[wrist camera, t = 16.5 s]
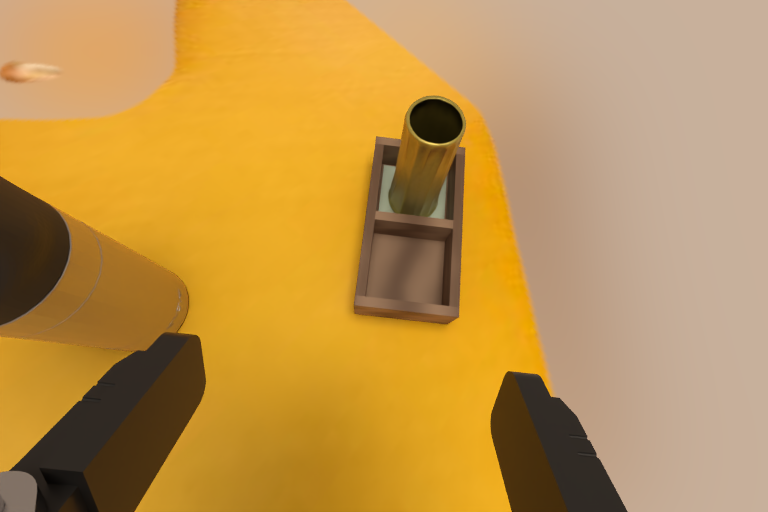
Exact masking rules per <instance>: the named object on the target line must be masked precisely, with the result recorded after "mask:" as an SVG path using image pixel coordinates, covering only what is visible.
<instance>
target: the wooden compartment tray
mask: <svg viewBox="0 0 768 512" xmlns="http://www.w3.org/2000/svg"><path fill="white" fill-rule="evenodd" d="M400 144H401V140H400V139H393V138H385V137H377V136H376V144H375V151H374V159H373V166H372V174H371V181H370V189H369V196H368V204H367V211H366V219H365V226H364V234H363V242H362V249H361V257H360V264H359V272H358V279H357V287H356V294H355V302H354V310H355V314H361V315H370V316H379V317H387V318H396V319H405V320H413V321H422V322H431V323H439V324H448V323H450V322H452V321H453V320H455V319H457V318H458V317H459V299H460V273H461V246H462V220H463V193H464V167H465V148H463V147H458V149H457V152H456V154H455V157H454V159H453V161H452V164H451V166H450V169H449V171H448V174H447V176H446V179H445V181H444V184H443V186H442V188H441V191H440V194H439V198H438V205H437V207H436V209H435V211H434V212H433V213H432V214H431V215H430V216H429V217H423V216H415V215H406V214H398V213H395V212H394V211H393V209H392V208H391V206H390V203H389V198H388V194H389V189H390V188H391V184H392V180H393V177H394V174H395V170H396V163H397V158H398V154H399V149H400Z"/></svg>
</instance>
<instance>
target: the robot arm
mask: <svg viewBox="0 0 768 512" xmlns="http://www.w3.org/2000/svg"><path fill="white" fill-rule="evenodd" d="M188 304H189V303H188V293H187V290H186V287H185V285H184V284H183V282H182V280H181V279H180V278H179V277H178V276H177V275H175V274H174V273H172V272H170V271H169V270H167V269H165V268H163V267H161V266H160V265H158V264H156V263H155V262H153V261H151V260H149V259H147V258H146V257H144V256H142V255H140V254H138V253H137V252H135V251H133V250H131V249H129V248H128V247H126V246H124V245H122V244H120V243H119V242H117V241H115V240H113V239H111V238H110V237H108V236H106V235H104V234H102V233H101V232H99V231H97V230H95V229H93V228H91V227H90V226H88V225H86V224H84V223H82V222H80V221H78V220H77V219H75V218H73V217H71V216H69V215H68V214H66V213H64V212H62V211H60V210H59V209H57V208H55V207H53V206H51V205H49V204H48V203H46V202H44V201H42V200H41V199H39V198H37V197H35V196H33V195H31V194H30V193H28V192H26V191H24V190H22V189H21V188H19V187H17V186H16V185H14V184H12V183H11V182H9V181H7V180H6V179H4V178H2V177H1V176H0V337H10V338H19V339H28V340H36V341H45V342H54V343H63V344H72V345H81V346H90V347H99V348H106V349H116V350H126V351H136V352H134V353H133V354H131V355H129V356H128V357H126V358H124V359H123V360H121V361H119V362H118V363H116V364H115V365H114V366H113V367H112V368H111V369H110V370H109V371H108V372H107V373H106V374H105V375H104V376H103V377H102V378H101V379H100V380H99V381H98V384H97V385H96V386H93V387H92V388H91V389H90V390H89V391H88V392H87V393H86V394H85V395H84V396H83V399H82V401H78V402H77V403H76V404H75V405H74V406H73V407H72V408H71V409H70V410H69V411H68V412H67V414H66V415H65V416H64V417H63V418H62V419H61V420H60V421H59V422H58V423H57V424H56V425H55V426H54V427H53V428H52V429H51V430H50V431H49V432H48V433H47V434H46V435H45V436H44V437H43V438H42V439H41V440H40V441H39V442H38V443H37V444H36V445H35V446H34V447H33V448H32V449H31V450H30V451H29V452H28V453H27V454H26V455H25V456H24V457H23V458H22V459H21V460H20V461H19V462H18V463H17V464H16V465H15V466H14V467H13V468H12V469H11V470H9V471H6V472H1V473H0V512H134V511H135V510H136V508H137V506H138V505H139V503H140V501H141V500H142V498H143V496H144V495H145V493H146V491H147V490H148V488H149V486H150V485H151V483H152V481H153V480H154V478H155V476H156V475H157V473H158V472H159V470H160V468H161V467H162V465H163V463H164V462H165V460H166V458H167V457H168V455H169V453H170V452H171V450H172V448H173V447H174V445H175V443H176V442H177V440H178V438H179V437H180V435H181V433H182V432H183V430H184V429H185V427H186V425H187V424H188V422H189V420H190V419H191V417H192V415H193V414H194V412H195V410H196V409H197V407H198V405H199V404H200V402H201V399H202V397H203V394H204V390H205V384H206V378H205V370H204V363H203V356H202V348H201V342H200V338H199V337H198V336H197V335H191V334H182V333H176V332H177V331H178V329H179V328H180V326H181V325H182V323H183V322H184V319H185V317H186V314H187V310H188ZM145 350H146V351H145ZM491 434H492V439H493V443H494V446H495V450H496V454H497V458H498V461H499V465H500V469H501V473H502V477H503V480H504V484H505V488H506V492H507V495H508V499H509V503H510V507H511V510H512V512H627V510H626V508H625V506H624V504H623V502H622V500H621V499H620V497H619V495H618V493H617V491H616V489H615V487H614V485H613V484H612V482H611V480H610V478H609V476H608V474H607V472H606V470H605V469H604V467H603V465H602V463H601V461H600V460H599V458H597V457H596V452H595V450H594V448H593V446H592V444H591V442H590V441H589V440H587V435H586V433H585V431H584V429H583V427H582V425H581V424H580V422H579V420H578V418H577V416H576V415H575V414H574V413H573V412H572V411H571V410H570V409H569V408H568V407H567V406H566V404H565V403H564V402H563V401H562V400H561V399H560V398H555V397H551V396H550V394H549V392H548V390H547V388H546V386H545V384H544V382H543V380H542V378H541V377H540V376H539V375H537V374H529V373H520V372H511V371H508V372H507V373H506V374H505V376H504V379H503V382H502V385H501V387H500V390H499V393H498V396H497V399H496V401H495V404H494V407H493V410H492V414H491Z"/></svg>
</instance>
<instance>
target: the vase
mask: <svg viewBox="0 0 768 512" xmlns="http://www.w3.org/2000/svg"><path fill="white" fill-rule="evenodd" d="M465 128H466V121H465V117H464V115H463V112H462V110H461V109H460V108H459V107H458V105H457V104H455V103H454V102H453V101H451V100H449V99H446V98H444V97H441V96H426V97H423V98H420V99H418V100H417V101H415V102H414V103H413V104H412V105H411V106H410V108H409V109H408V111H407V113H406V115H405V119H404V127H403V132H402V138H401V144H400V149H399V154H398V158H397V163H396V170H395V174H394V177H393V180H392V184H391V188H390V189H389V194H388V198H389V203H390V206H391V208H392V209H393V211H394V212H395V213H398V214H406V215H415V216H423V217H429V216H430V215H431V214H432V213H433V212H434V211H435V209H436V207H437V205H438V198H439V194H440V191H441V188H442V186H443V184H444V181H445V179H446V176H447V174H448V171H449V169H450V166H451V164H452V161H453V159H454V157H455V154H456V152H457V149H458V147H459V144H460V142H461V139H462V137H463V134H464V132H465Z"/></svg>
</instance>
